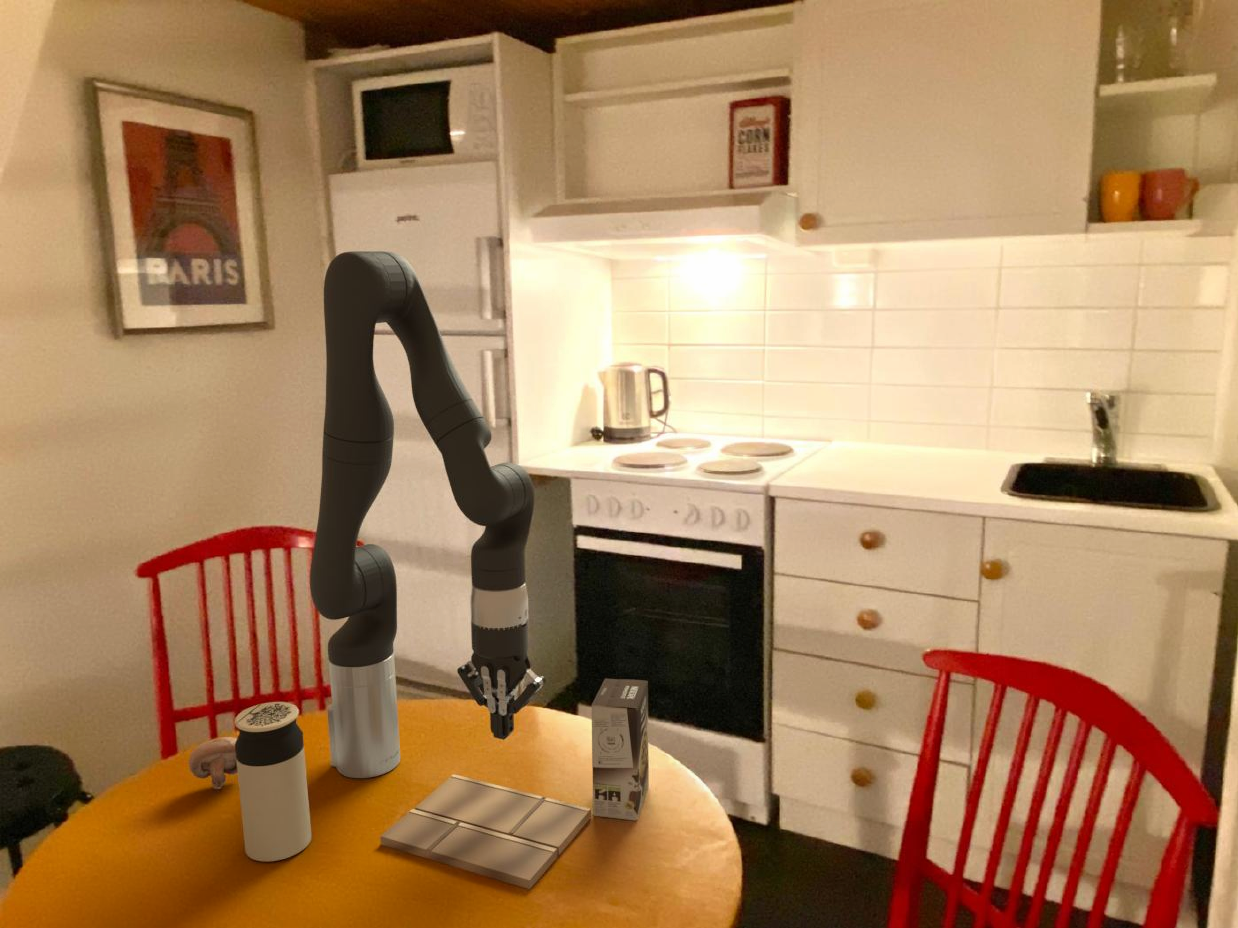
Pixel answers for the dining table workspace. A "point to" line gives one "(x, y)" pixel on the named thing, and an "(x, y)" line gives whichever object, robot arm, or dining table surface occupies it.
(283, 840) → the travel mug
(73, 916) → the dining table surface
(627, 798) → the coffee box
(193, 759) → the mushroom
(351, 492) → the robot arm
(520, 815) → the board
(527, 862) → the laid plank
